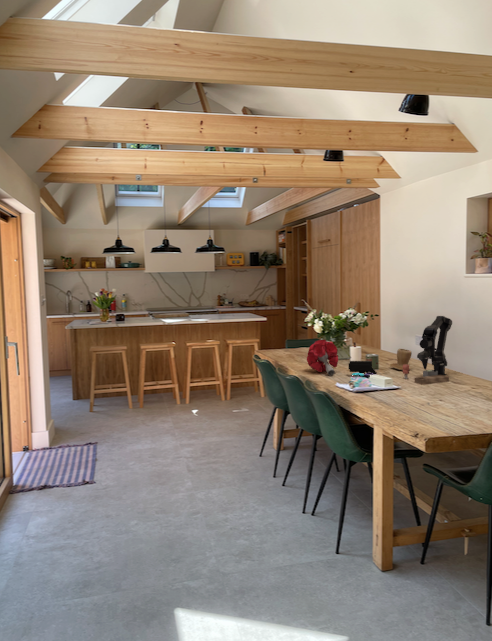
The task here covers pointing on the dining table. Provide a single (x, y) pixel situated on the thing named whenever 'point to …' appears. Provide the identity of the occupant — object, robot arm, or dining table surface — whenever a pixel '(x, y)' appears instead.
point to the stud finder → (429, 373)
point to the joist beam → (431, 379)
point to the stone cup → (402, 359)
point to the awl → (405, 371)
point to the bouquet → (323, 356)
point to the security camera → (361, 367)
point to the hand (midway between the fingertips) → (430, 370)
